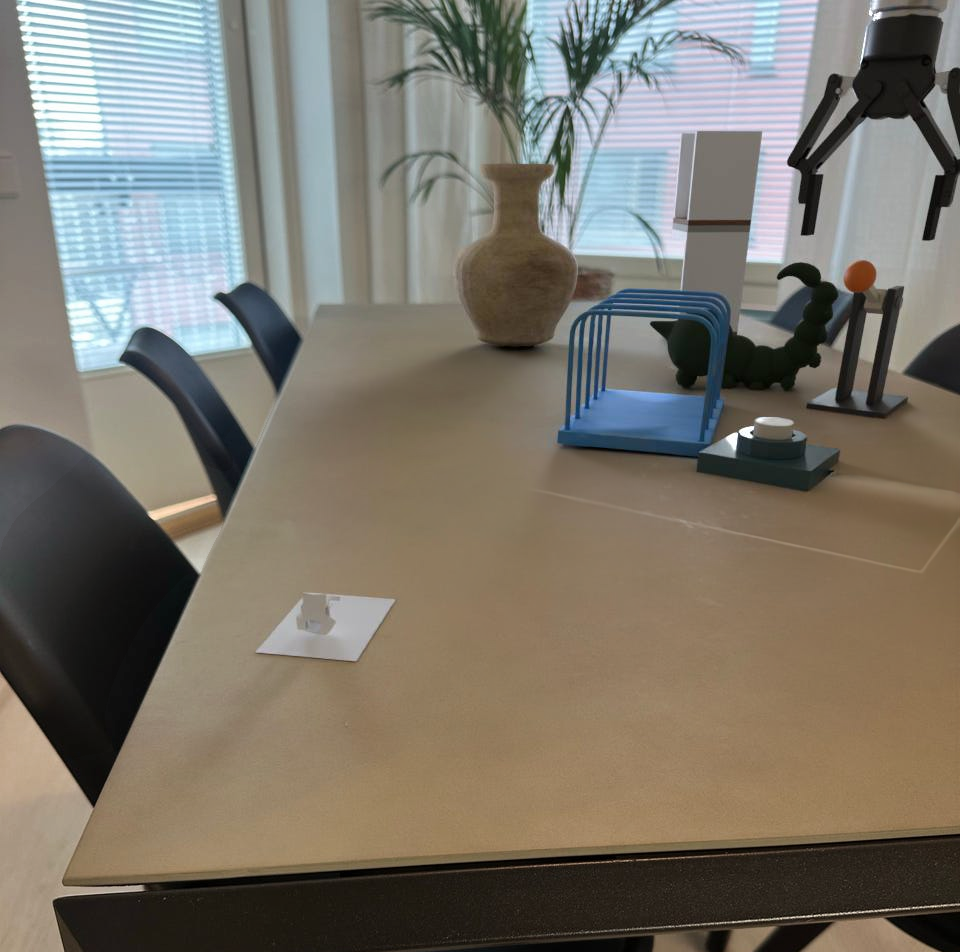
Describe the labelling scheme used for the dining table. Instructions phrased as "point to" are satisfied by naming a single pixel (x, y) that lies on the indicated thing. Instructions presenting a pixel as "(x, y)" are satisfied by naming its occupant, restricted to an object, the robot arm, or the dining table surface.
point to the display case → (716, 211)
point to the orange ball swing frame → (874, 399)
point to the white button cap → (773, 428)
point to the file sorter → (646, 414)
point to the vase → (515, 264)
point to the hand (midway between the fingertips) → (865, 237)
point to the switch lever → (865, 285)
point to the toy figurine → (742, 355)
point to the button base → (769, 460)
